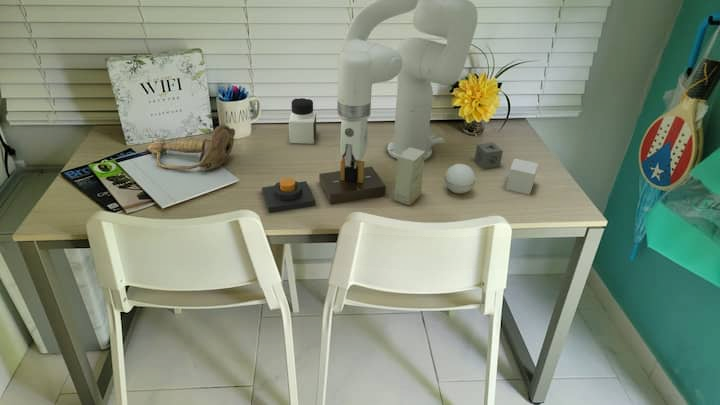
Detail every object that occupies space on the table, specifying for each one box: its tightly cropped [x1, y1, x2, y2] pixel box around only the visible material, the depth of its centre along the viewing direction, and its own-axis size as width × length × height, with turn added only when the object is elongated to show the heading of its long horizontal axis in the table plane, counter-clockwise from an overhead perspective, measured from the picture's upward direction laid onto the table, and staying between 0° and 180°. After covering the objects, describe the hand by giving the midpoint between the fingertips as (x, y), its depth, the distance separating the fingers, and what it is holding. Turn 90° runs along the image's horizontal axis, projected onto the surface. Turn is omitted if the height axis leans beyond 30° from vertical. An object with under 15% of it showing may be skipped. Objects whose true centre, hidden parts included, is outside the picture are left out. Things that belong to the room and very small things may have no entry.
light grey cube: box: [505, 158, 539, 196], centre depth 130 cm, size 6×6×6 cm
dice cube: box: [474, 141, 503, 170], centre depth 139 cm, size 5×5×5 cm
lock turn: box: [340, 157, 366, 183], centre depth 124 cm, size 6×2×5 cm, turn 79°
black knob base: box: [261, 180, 316, 214], centre depth 122 cm, size 11×9×4 cm
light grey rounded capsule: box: [444, 163, 476, 194], centre depth 125 cm, size 10×7×7 cm
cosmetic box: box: [393, 147, 425, 206], centre depth 122 cm, size 6×4×12 cm
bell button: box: [279, 177, 296, 192], centre depth 120 cm, size 4×4×2 cm
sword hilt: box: [144, 124, 236, 172], centre depth 135 cm, size 10×24×15 cm
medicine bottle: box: [288, 96, 317, 145], centre depth 147 cm, size 7×7×12 cm
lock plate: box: [318, 166, 387, 205], centre depth 126 cm, size 14×10×3 cm
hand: (352, 177), depth 125 cm, fingers closed on lock turn, 2 cm apart
